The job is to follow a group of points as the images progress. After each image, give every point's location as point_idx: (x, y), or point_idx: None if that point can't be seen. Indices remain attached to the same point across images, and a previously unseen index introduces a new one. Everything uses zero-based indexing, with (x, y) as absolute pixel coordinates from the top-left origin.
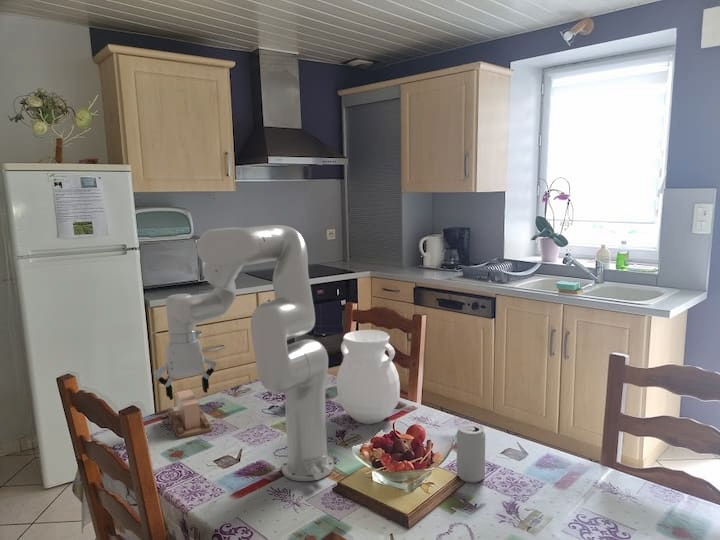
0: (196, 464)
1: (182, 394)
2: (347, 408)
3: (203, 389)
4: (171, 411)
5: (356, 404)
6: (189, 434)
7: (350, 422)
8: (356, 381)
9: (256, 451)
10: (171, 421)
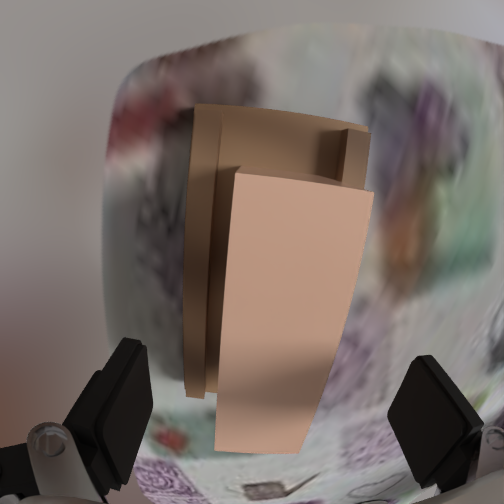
0: (206, 481)
1: (264, 278)
2: None
3: (406, 392)
4: (200, 156)
5: None
6: None
7: None
8: None
9: (332, 484)
10: (185, 234)
